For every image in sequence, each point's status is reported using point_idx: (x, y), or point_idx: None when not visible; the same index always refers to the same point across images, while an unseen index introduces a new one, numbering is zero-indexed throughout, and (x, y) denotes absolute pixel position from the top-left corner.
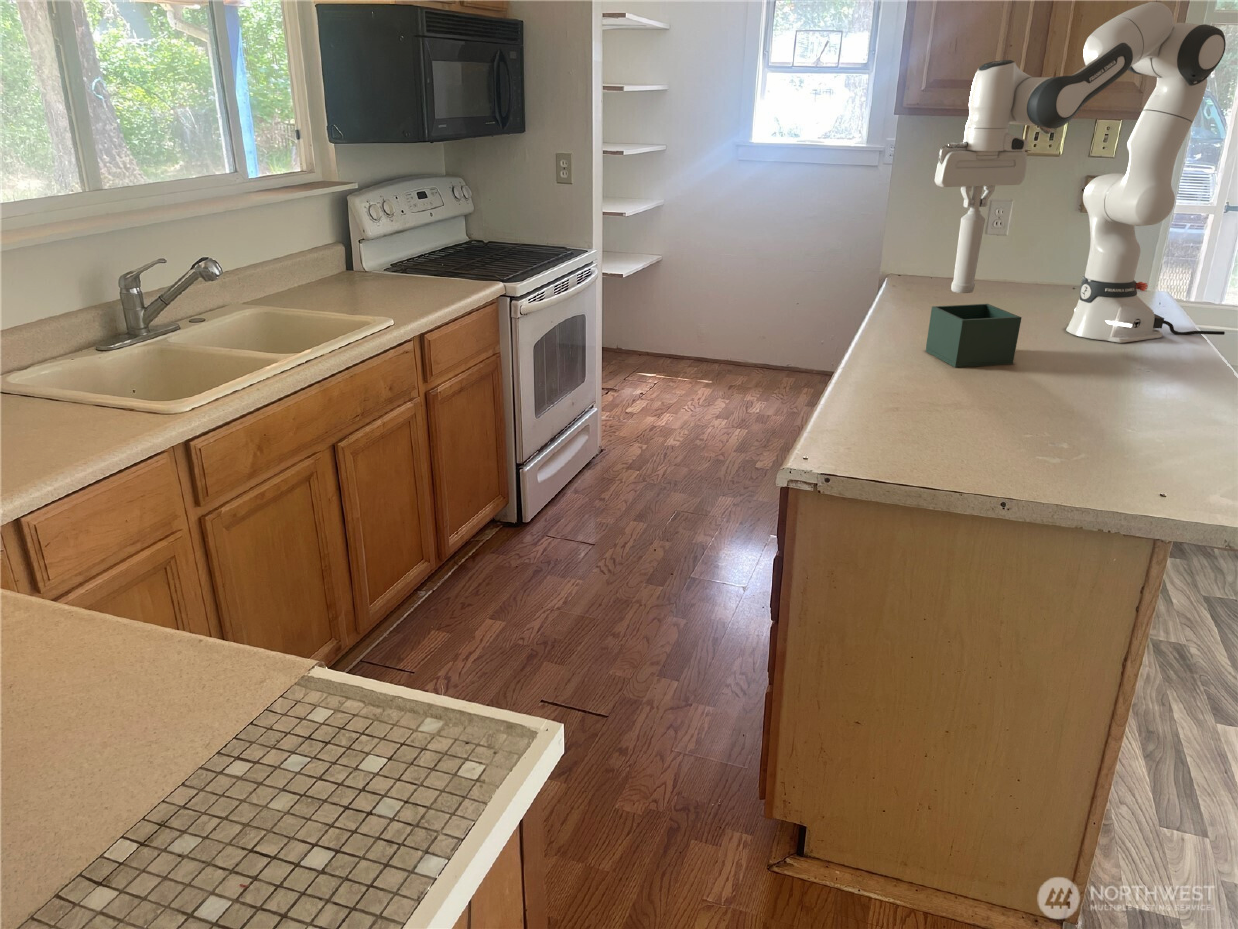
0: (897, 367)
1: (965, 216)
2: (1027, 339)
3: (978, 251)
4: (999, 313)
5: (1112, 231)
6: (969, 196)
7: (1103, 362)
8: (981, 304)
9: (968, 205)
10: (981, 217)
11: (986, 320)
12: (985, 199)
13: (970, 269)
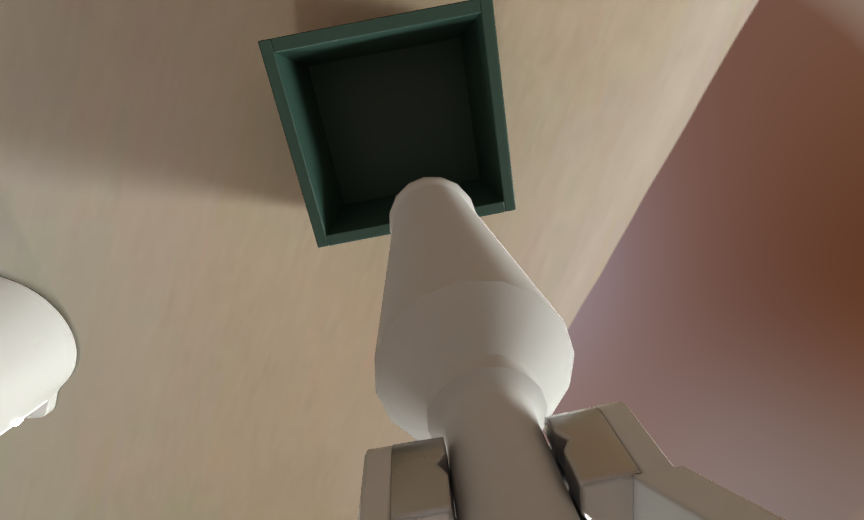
0: (613, 35)
1: (560, 367)
2: (196, 287)
3: (405, 231)
4: (306, 156)
5: None
6: (697, 498)
7: (38, 70)
8: (343, 235)
9: (617, 408)
10: (432, 321)
11: (397, 14)
12: (402, 507)
13: (434, 195)
